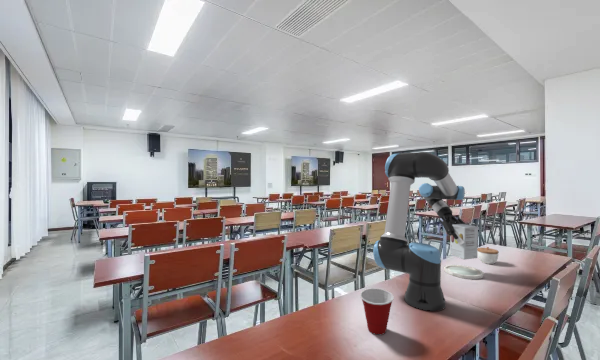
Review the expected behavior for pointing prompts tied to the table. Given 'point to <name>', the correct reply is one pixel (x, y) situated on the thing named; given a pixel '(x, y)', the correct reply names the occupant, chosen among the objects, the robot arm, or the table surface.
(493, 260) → the lidded jar
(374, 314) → the plastic cup
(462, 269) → the dish
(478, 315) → the table surface
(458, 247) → the supplement box
